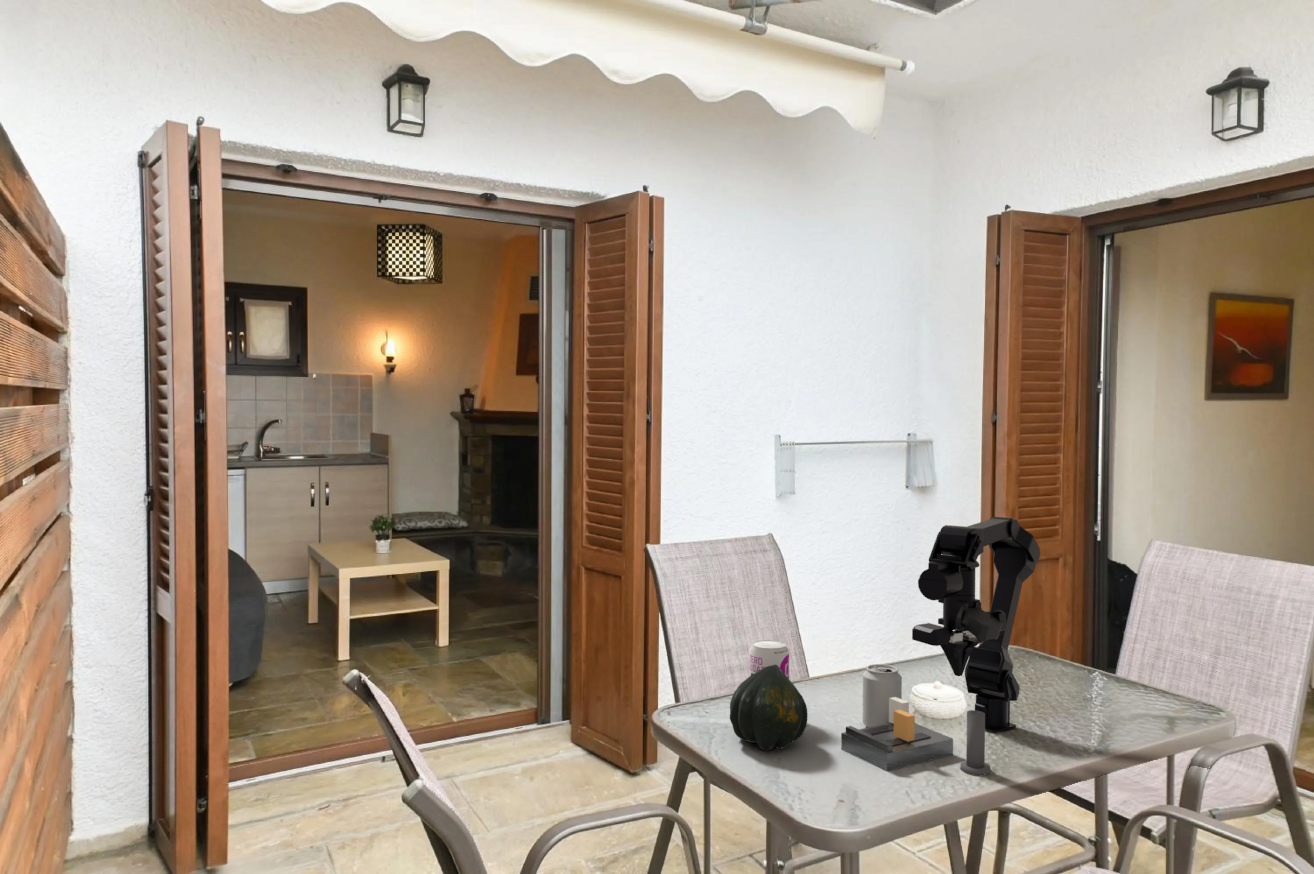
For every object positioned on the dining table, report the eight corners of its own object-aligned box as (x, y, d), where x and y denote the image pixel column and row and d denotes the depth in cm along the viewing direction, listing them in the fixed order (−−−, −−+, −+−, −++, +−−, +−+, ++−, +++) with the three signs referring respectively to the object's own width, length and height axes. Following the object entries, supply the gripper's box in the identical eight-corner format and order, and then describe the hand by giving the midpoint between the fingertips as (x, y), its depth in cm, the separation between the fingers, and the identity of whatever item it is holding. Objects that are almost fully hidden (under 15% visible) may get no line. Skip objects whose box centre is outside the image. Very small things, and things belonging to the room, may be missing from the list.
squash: (729, 730, 163) (781, 664, 165) (705, 708, 177) (754, 647, 180) (786, 778, 165) (836, 712, 168) (757, 752, 180) (804, 692, 182)
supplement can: (793, 713, 189) (793, 641, 189) (781, 725, 182) (782, 650, 182) (756, 708, 193) (756, 637, 192) (743, 719, 185) (743, 646, 185)
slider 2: (900, 733, 167) (900, 709, 167) (914, 740, 164) (914, 715, 164) (893, 735, 166) (893, 710, 166) (907, 741, 163) (908, 716, 163)
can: (902, 734, 177) (903, 673, 176) (862, 732, 178) (863, 671, 178) (900, 722, 184) (900, 663, 184) (862, 719, 185) (862, 661, 185)
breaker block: (905, 734, 177) (905, 713, 177) (952, 754, 166) (953, 731, 166) (841, 748, 169) (841, 726, 169) (886, 770, 158) (886, 746, 158)
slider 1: (895, 720, 175) (895, 696, 174) (908, 725, 171) (908, 701, 171) (888, 721, 174) (889, 697, 174) (902, 727, 171) (902, 703, 171)
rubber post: (974, 762, 162) (974, 706, 162) (996, 771, 158) (997, 714, 158) (954, 767, 160) (954, 711, 160) (976, 777, 156) (977, 719, 155)
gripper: (956, 605, 159) (955, 694, 160) (1028, 595, 168) (1027, 679, 169) (910, 594, 169) (909, 678, 169) (981, 586, 178) (980, 665, 178)
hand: (958, 675), depth 171 cm, fingers closed
